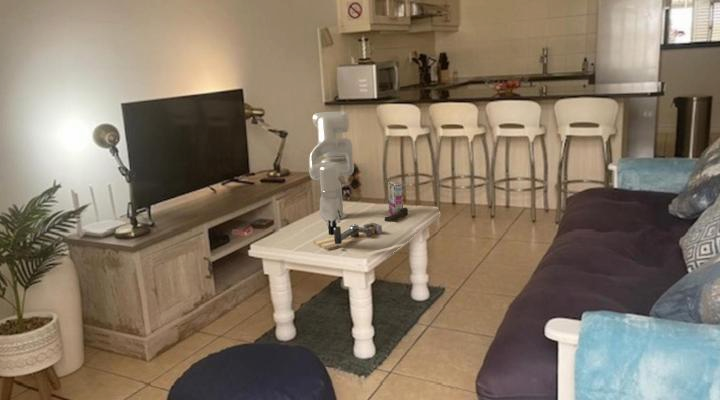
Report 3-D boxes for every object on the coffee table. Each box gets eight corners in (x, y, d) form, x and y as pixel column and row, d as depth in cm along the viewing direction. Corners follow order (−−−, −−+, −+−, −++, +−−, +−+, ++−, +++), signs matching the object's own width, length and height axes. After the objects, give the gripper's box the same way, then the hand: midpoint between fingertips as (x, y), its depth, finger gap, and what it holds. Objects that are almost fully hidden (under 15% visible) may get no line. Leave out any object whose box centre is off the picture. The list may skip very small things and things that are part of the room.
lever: (332, 246, 257) (331, 227, 255) (353, 233, 275) (352, 216, 273) (352, 248, 253) (351, 229, 251) (372, 235, 270) (371, 217, 268)
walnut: (366, 234, 273) (365, 226, 273) (372, 232, 275) (372, 225, 274) (370, 236, 270) (369, 228, 270) (376, 234, 272) (376, 226, 271)
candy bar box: (404, 215, 307) (402, 184, 303) (395, 216, 305) (393, 185, 302) (397, 210, 317) (396, 180, 313) (388, 211, 316) (387, 181, 312)
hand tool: (390, 224, 292) (390, 215, 291) (384, 223, 294) (383, 214, 293) (412, 216, 306) (412, 207, 305) (405, 215, 309) (405, 206, 308)
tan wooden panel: (313, 243, 268) (313, 232, 267) (369, 230, 283) (368, 220, 282) (327, 250, 257) (326, 239, 256) (384, 236, 273) (383, 225, 271)
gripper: (312, 193, 259) (315, 233, 263) (333, 197, 248) (336, 239, 252) (325, 189, 263) (328, 229, 268) (347, 194, 252) (350, 235, 257)
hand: (332, 234), depth 260 cm, fingers closed
